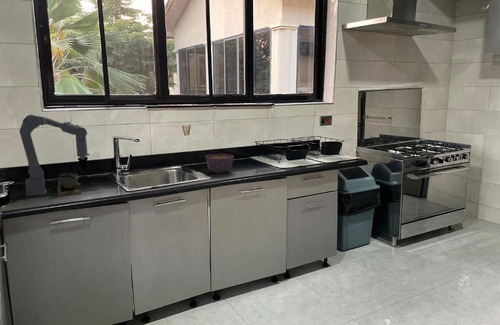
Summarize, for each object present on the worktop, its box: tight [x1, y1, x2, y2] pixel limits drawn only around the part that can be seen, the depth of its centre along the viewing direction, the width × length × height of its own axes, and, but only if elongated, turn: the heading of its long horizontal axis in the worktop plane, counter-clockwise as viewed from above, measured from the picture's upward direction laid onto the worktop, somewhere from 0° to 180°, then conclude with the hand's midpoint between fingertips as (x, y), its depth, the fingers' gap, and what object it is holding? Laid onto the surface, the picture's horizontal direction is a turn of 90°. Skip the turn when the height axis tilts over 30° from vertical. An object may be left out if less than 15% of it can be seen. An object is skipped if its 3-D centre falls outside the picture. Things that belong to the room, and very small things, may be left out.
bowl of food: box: [204, 153, 235, 174], centre depth 263 cm, size 20×20×12 cm
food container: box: [57, 172, 79, 192], centre depth 216 cm, size 12×6×10 cm, turn 72°
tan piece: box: [56, 180, 82, 198], centre depth 217 cm, size 12×24×4 cm, turn 25°
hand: (83, 169), depth 225 cm, fingers closed
